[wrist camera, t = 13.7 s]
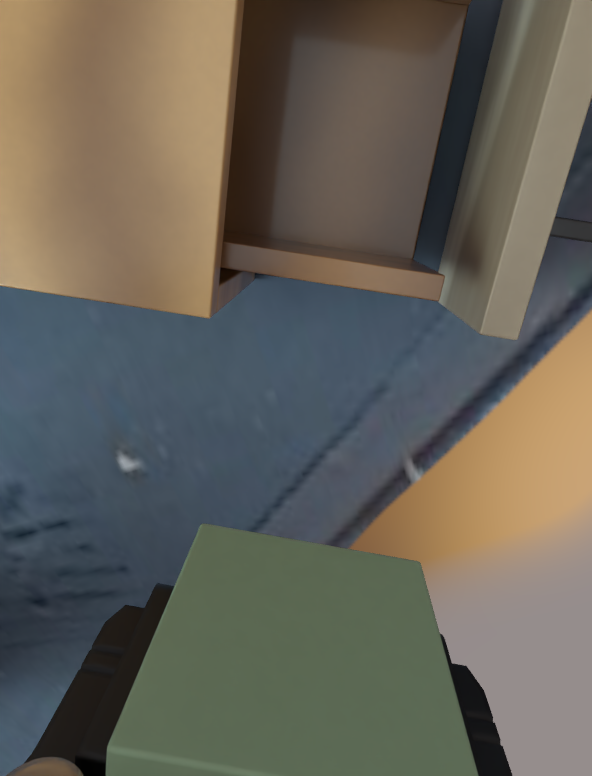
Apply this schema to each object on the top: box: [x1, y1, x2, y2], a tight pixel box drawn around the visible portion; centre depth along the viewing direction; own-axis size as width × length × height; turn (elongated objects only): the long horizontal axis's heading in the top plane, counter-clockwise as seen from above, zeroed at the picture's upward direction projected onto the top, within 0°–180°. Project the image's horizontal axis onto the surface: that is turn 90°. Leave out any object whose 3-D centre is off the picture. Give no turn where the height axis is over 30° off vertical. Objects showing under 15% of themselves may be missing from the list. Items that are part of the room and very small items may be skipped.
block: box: [106, 524, 478, 776], centre depth 9 cm, size 5×5×5 cm
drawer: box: [220, 0, 592, 340], centre depth 16 cm, size 20×12×7 cm, turn 82°
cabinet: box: [0, 0, 255, 318], centre depth 17 cm, size 16×13×9 cm
